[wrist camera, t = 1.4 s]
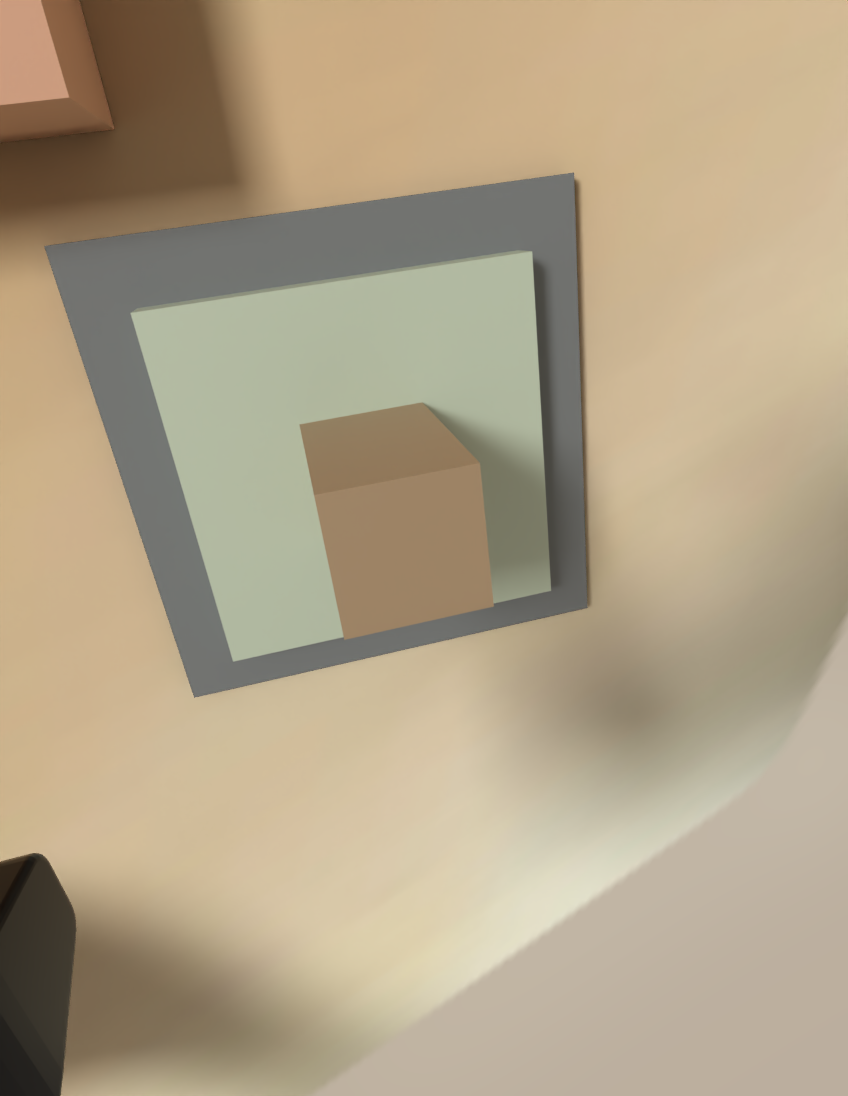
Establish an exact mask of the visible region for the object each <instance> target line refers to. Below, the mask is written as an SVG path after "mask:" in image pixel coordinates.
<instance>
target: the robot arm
mask: <svg viewBox="0 0 848 1096" xmlns="http://www.w3.org/2000/svg"><path fill="white" fill-rule="evenodd" d="M75 940H76V919H75V913H74V910H73V907H72V905H71V903H70V901H69V899H68V897H67V895H66V893H65V891H64V889H63V887H62V886H61V884H60V882H59V880H58V878H57V876H56V874H55V872H54V870H53V868H52V867H51V865H50V863H49V861H48V860H47V859H46V857H44V856H43V855H41V854H38V853H32V854H28V855H24V856H20V857H16V858H12V859H8V860H4V861H1V862H0V1096H61V1087H62V1079H63V1069H64V1059H65V1048H66V1037H67V1026H68V1016H69V1005H70V994H71V983H72V972H73V962H74V951H75Z"/></svg>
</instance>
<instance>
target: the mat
mask: <svg viewBox="0 0 848 1096" xmlns="http://www.w3.org/2000/svg"><path fill="white" fill-rule="evenodd" d="M44 247H45V250H46V253H47V256H48V259H49V262H50V265H51V268H52V271H53V274H54V277H55V280H56V283H57V286H58V289H59V292H60V295H61V298H62V301H63V304H64V307H65V310H66V313H67V316H68V319H69V322H70V325H71V328H72V331H73V334H74V337H75V340H76V343H77V346H78V349H79V352H80V355H81V358H82V361H83V364H84V367H85V370H86V373H87V376H88V379H89V382H90V385H91V388H92V391H93V394H94V397H95V400H96V403H97V406H98V409H99V412H100V415H101V418H102V421H103V424H104V427H105V430H106V433H107V436H108V439H109V442H110V445H111V448H112V451H113V454H114V457H115V460H116V463H117V466H118V469H119V472H120V476H121V479H122V482H123V485H124V488H125V491H126V494H127V497H128V500H129V503H130V506H131V509H132V512H133V515H134V518H135V521H136V524H137V527H138V530H139V533H140V536H141V539H142V542H143V545H144V548H145V551H146V554H147V557H148V560H149V563H150V566H151V569H152V572H153V575H154V578H155V581H156V584H157V587H158V590H159V593H160V596H161V599H162V602H163V605H164V608H165V611H166V614H167V617H168V620H169V623H170V626H171V629H172V632H173V635H174V638H175V641H176V644H177V647H178V650H179V653H180V656H181V659H182V662H183V665H184V668H185V671H186V674H187V677H188V680H189V683H190V686H191V689H192V692H193V695H194V698H195V697H199V696H203V695H208V694H212V693H216V692H221V691H225V690H230V689H234V688H238V687H243V686H247V685H252V684H256V683H260V682H265V681H269V680H273V679H278V678H282V677H287V676H291V675H295V674H300V673H304V672H308V671H313V670H317V669H322V668H326V667H330V666H335V665H339V664H343V663H348V662H352V661H357V660H361V659H365V658H370V657H374V656H378V655H383V654H387V653H392V652H396V651H400V650H405V649H409V648H414V647H418V646H422V645H427V644H431V643H435V642H440V641H444V640H449V639H453V638H457V637H462V636H466V635H470V634H475V633H479V632H484V631H488V630H492V629H497V628H501V627H505V626H510V625H514V624H519V623H523V622H527V621H532V620H536V619H541V618H545V617H549V616H554V615H558V614H562V613H567V612H571V611H576V610H580V609H584V608H587V580H586V547H585V515H584V482H583V449H582V417H581V384H580V351H579V319H578V286H577V253H576V220H575V188H574V173H569V174H561V175H554V176H547V177H540V178H532V179H525V180H518V181H511V182H504V183H496V184H489V185H482V186H475V187H468V188H460V189H453V190H446V191H439V192H431V193H424V194H417V195H410V196H403V197H395V198H388V199H381V200H374V201H367V202H359V203H352V204H345V205H338V206H331V207H323V208H316V209H309V210H302V211H294V212H287V213H280V214H273V215H266V216H258V217H251V218H244V219H237V220H230V221H222V222H215V223H208V224H201V225H193V226H186V227H179V228H172V229H165V230H157V231H150V232H143V233H136V234H129V235H121V236H114V237H107V238H100V239H92V240H85V241H78V242H71V243H64V244H56V245H49V246H44ZM516 250H521V251H532V256H533V274H534V292H535V310H536V328H537V346H538V364H539V382H540V400H541V418H542V436H543V454H544V472H545V490H546V507H547V525H548V543H549V561H550V579H551V591H548V592H543V593H539V594H534V595H530V596H525V597H521V598H516V599H512V600H507V601H503V602H498V603H494V607H489V608H485V609H480V610H476V611H471V612H467V613H462V614H458V615H453V616H449V617H445V618H440V619H436V620H431V621H427V622H422V623H418V624H413V625H409V626H404V627H400V628H395V629H391V630H386V631H382V632H377V633H373V634H369V635H364V636H360V637H355V638H351V639H346V640H344V637H342V638H337V639H333V640H328V641H324V642H319V643H315V644H310V645H306V646H301V647H297V648H292V649H288V650H283V651H279V652H274V653H270V654H265V655H261V656H257V657H252V658H248V659H243V660H239V661H234V662H233V659H232V656H231V653H230V649H229V646H228V642H227V639H226V636H225V632H224V629H223V625H222V622H221V619H220V615H219V612H218V608H217V605H216V602H215V598H214V595H213V591H212V588H211V585H210V581H209V578H208V574H207V571H206V568H205V564H204V561H203V557H202V554H201V551H200V547H199V544H198V541H197V537H196V534H195V530H194V527H193V524H192V520H191V517H190V513H189V510H188V507H187V503H186V500H185V496H184V493H183V490H182V486H181V483H180V479H179V476H178V473H177V469H176V466H175V462H174V459H173V456H172V452H171V449H170V446H169V442H168V439H167V435H166V432H165V429H164V425H163V422H162V418H161V415H160V412H159V408H158V405H157V401H156V398H155V395H154V391H153V388H152V384H151V381H150V378H149V374H148V371H147V367H146V364H145V361H144V357H143V354H142V351H141V347H140V344H139V340H138V337H137V334H136V330H135V327H134V323H133V320H132V317H131V312H133V311H134V310H136V309H137V308H143V307H150V306H156V305H163V304H169V303H176V302H182V301H189V300H195V299H202V298H209V297H215V296H222V295H228V294H235V293H241V292H248V291H254V290H261V289H267V288H274V287H281V286H287V285H294V284H300V283H307V282H313V281H320V280H326V279H333V278H339V277H346V276H353V275H359V274H366V273H372V272H379V271H385V270H392V269H398V268H405V267H411V266H418V265H425V264H431V263H438V262H444V261H451V260H457V259H464V258H470V257H477V256H483V255H490V254H497V253H503V252H510V251H516Z"/></svg>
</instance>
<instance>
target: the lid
mask: <svg viewBox="0 0 848 1096" xmlns="http://www.w3.org/2000/svg"><path fill="white" fill-rule="evenodd" d="M131 317H132V320H133V323H134V327H135V330H136V334H137V337H138V340H139V344H140V347H141V351H142V354H143V357H144V361H145V364H146V367H147V371H148V374H149V378H150V381H151V384H152V388H153V391H154V395H155V398H156V401H157V405H158V408H159V412H160V415H161V418H162V422H163V425H164V429H165V432H166V435H167V439H168V442H169V446H170V449H171V452H172V456H173V459H174V462H175V466H176V469H177V473H178V476H179V479H180V483H181V486H182V490H183V493H184V496H185V500H186V503H187V507H188V510H189V513H190V517H191V520H192V524H193V527H194V530H195V534H196V537H197V541H198V544H199V547H200V551H201V554H202V557H203V561H204V564H205V568H206V571H207V574H208V578H209V581H210V585H211V588H212V591H213V595H214V598H215V602H216V605H217V608H218V612H219V615H220V619H221V622H222V625H223V629H224V632H225V636H226V639H227V642H228V646H229V649H230V653H231V656H232V659H233V662H234V661H239V660H243V659H248V658H252V657H257V656H261V655H265V654H270V653H274V652H279V651H283V650H288V649H292V648H297V647H301V646H306V645H310V644H315V643H319V642H324V641H328V640H333V639H337V638H342V637H344V640H346V639H351V638H355V637H360V636H364V635H369V634H373V633H377V632H382V631H386V630H391V629H395V628H400V627H404V626H409V625H413V624H418V623H422V622H427V621H431V620H436V619H440V618H445V617H449V616H453V615H458V614H462V613H467V612H471V611H476V610H480V609H485V608H489V607H494V603H498V602H503V601H507V600H512V599H516V598H521V597H525V596H530V595H534V594H539V593H543V592H548V591H551V579H550V561H549V543H548V525H547V507H546V490H545V472H544V454H543V436H542V418H541V400H540V382H539V364H538V346H537V328H536V310H535V292H534V274H533V256H532V251H521V250H516V251H510V252H503V253H497V254H490V255H483V256H477V257H470V258H464V259H457V260H451V261H444V262H438V263H431V264H425V265H418V266H411V267H405V268H398V269H392V270H385V271H379V272H372V273H366V274H359V275H353V276H346V277H339V278H333V279H326V280H320V281H313V282H307V283H300V284H294V285H287V286H281V287H274V288H267V289H261V290H254V291H248V292H241V293H235V294H228V295H222V296H215V297H209V298H202V299H195V300H189V301H182V302H176V303H169V304H163V305H156V306H150V307H143V308H137V309H136V310H134V311H133V312H131Z"/></svg>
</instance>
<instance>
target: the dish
mask: <svg viewBox="0 0 848 1096" xmlns="http://www.w3.org/2000/svg"><path fill="white" fill-rule="evenodd" d="M113 129H114V125H113V121H112V118H111V114H110V110H109V107H108V103H107V99H106V96H105V92H104V88H103V85H102V81H101V78H100V74H99V70H98V67H97V63H96V59H95V56H94V52H93V48H92V45H91V41H90V37H89V34H88V30H87V26H86V23H85V19H84V16H83V12H82V8H81V5H80V1H79V0H0V143H3V142H12V141H20V140H28V139H37V138H45V137H54V136H62V135H71V134H79V133H87V132H96V131H104V130H113Z"/></svg>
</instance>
